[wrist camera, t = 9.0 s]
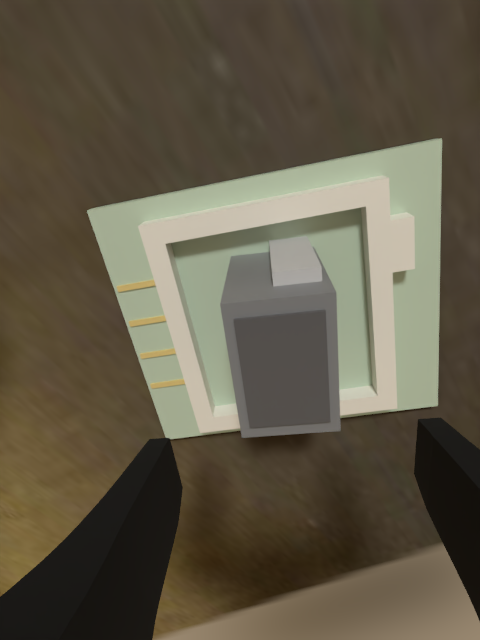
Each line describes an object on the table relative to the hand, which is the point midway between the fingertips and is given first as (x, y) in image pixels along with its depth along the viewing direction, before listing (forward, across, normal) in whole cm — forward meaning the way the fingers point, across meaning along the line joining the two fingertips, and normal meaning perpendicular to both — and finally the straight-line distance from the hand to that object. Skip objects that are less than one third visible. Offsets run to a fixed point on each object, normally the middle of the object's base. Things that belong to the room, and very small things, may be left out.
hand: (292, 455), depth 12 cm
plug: (+10, 0, 0) cm, 10 cm away
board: (+10, 0, 0) cm, 10 cm away
